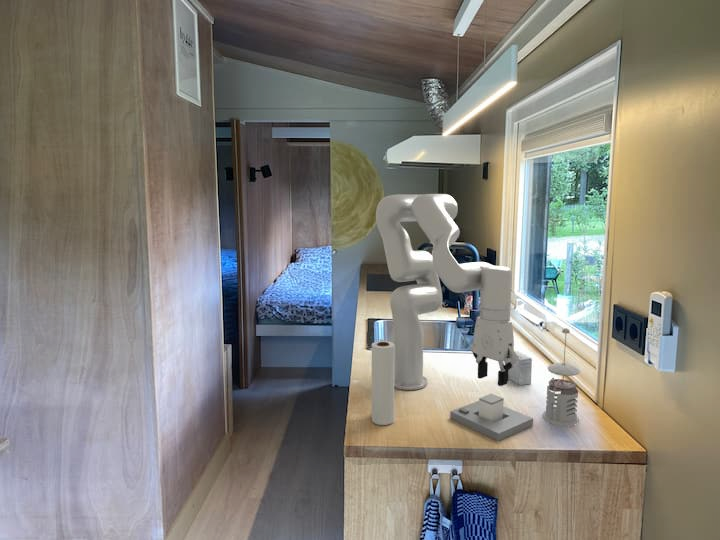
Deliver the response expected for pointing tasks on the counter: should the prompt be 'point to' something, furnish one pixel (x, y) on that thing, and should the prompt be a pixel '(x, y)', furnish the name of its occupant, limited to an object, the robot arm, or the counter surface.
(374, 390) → the paper towel roll
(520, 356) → the medicine box
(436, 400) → the counter surface
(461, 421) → the socket plate
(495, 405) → the plug
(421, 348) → the robot arm
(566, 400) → the french press
